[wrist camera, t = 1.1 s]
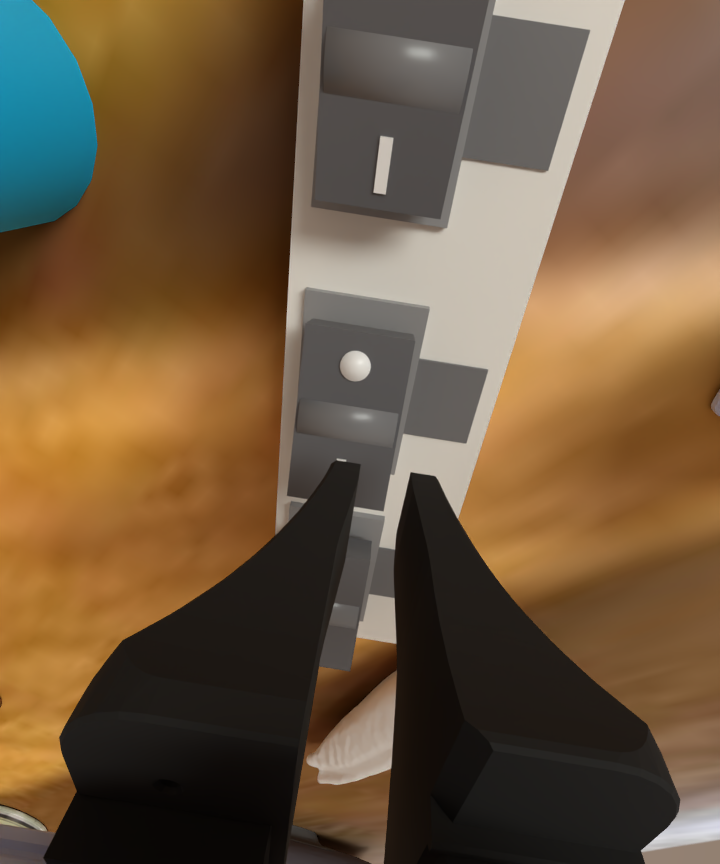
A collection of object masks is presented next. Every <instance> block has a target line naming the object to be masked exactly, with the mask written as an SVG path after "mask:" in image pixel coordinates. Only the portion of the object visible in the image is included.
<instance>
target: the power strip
mask: <svg viewBox="0 0 720 864" xmlns="http://www.w3.org/2000/svg"><path fill="white" fill-rule="evenodd" d="M624 1H625V0H489V3H488V7H487V12H486V16H485V21H484V25H483V30H482V34H481V39H480V43H479V48H478V52H477V57H476V61H475V66H474V70H473V75H472V79H471V84H470V88H469V93H468V97H467V102H466V106H465V111H464V115H463V120H462V124H461V129H460V133H459V138H458V142H457V147H456V151H455V156H454V160H453V165H452V169H451V174H450V178H449V183H448V187H447V192H446V196H445V201H444V205H443V210H442V214H441V219H434V218H427V217H421V216H415V215H408V214H402V213H396V212H389V211H383V210H377V209H370V208H364V207H358V206H351V205H345V204H339V203H332V202H326V201H320V200H315V183H316V160H317V136H318V113H319V90H320V67H321V44H322V21H323V0H304V2H303V21H302V39H301V58H300V77H299V96H298V115H297V133H296V152H295V171H294V190H293V208H292V227H291V246H290V265H289V284H288V302H287V321H286V340H285V359H284V378H283V396H282V415H281V434H280V453H279V472H278V490H277V509H276V528H275V535H276V534H277V533H278V532H279V531H280V530H281V529H282V528H283V527H284V526H285V525H286V524H287V523H288V522H289V521H290V519H291V518H292V517H293V516H294V515H295V514H296V513H297V512H298V511H299V509H300V508H301V507H302V506H303V505H304V503H305V502H306V501H307V500H308V499H303V498H296V497H290V496H287V489H288V480H289V471H290V462H291V452H292V443H293V434H294V425H295V416H296V406H297V397H298V388H299V379H300V369H301V360H302V351H303V342H304V332H305V323H307V322H308V321H310V320H311V319H312V318H315V319H321V320H327V321H333V322H340V323H346V324H352V325H359V326H365V327H371V328H377V329H384V330H390V331H396V332H403V333H409V334H413V335H414V338H415V346H414V352H413V357H412V362H411V368H410V373H409V378H408V384H407V389H406V394H405V400H404V405H403V410H402V416H401V421H400V426H399V432H398V437H397V442H396V448H395V453H394V458H393V464H392V469H391V474H390V480H389V485H388V490H387V496H386V501H385V506H384V512H383V511H377V510H371V509H365V508H358V507H354V510H353V516H352V522H351V528H350V534H349V537H351V538H357V539H363V540H369V541H372V544H371V560H370V566H369V571H368V577H367V582H366V588H365V593H364V598H363V604H362V609H361V615H360V620H359V626H358V631H357V637H358V638H364V639H370V640H376V641H382V642H388V643H394V644H396V622H395V598H394V556H395V543H396V532H397V528H398V524H399V520H400V515H401V511H402V507H403V503H404V498H405V494H406V490H407V486H408V481H409V477H410V473H411V472H413V473H419V474H426V475H432V476H436V478H437V479H438V481H439V483H440V485H441V487H442V489H443V491H444V493H445V495H446V497H447V499H448V501H449V503H450V505H451V507H452V509H453V511H454V513H455V515H456V517H457V518H459V514H460V511H461V508H462V505H463V502H464V499H465V496H466V493H467V490H468V486H469V483H470V480H471V477H472V474H473V471H474V468H475V465H476V462H477V458H478V455H479V452H480V449H481V446H482V443H483V440H484V437H485V434H486V430H487V427H488V424H489V421H490V418H491V415H492V412H493V409H494V406H495V402H496V399H497V396H498V393H499V390H500V387H501V384H502V381H503V378H504V374H505V371H506V368H507V365H508V362H509V359H510V356H511V353H512V350H513V346H514V343H515V340H516V337H517V334H518V331H519V328H520V325H521V322H522V318H523V315H524V312H525V309H526V306H527V303H528V300H529V297H530V293H531V290H532V287H533V284H534V281H535V278H536V275H537V272H538V269H539V265H540V262H541V259H542V256H543V253H544V250H545V247H546V244H547V241H548V237H549V234H550V231H551V228H552V225H553V222H554V219H555V216H556V213H557V209H558V206H559V203H560V200H561V197H562V194H563V191H564V188H565V185H566V181H567V178H568V175H569V172H570V169H571V166H572V163H573V160H574V157H575V153H576V150H577V147H578V144H579V141H580V138H581V135H582V132H583V129H584V125H585V122H586V119H587V116H588V113H589V110H590V107H591V104H592V101H593V97H594V94H595V91H596V88H597V85H598V82H599V79H600V76H601V72H602V69H603V66H604V63H605V60H606V57H607V54H608V51H609V48H610V44H611V41H612V38H613V35H614V32H615V29H616V26H617V23H618V20H619V16H620V13H621V10H622V7H623V4H624Z"/></svg>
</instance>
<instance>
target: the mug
mask: <svg viewBox="0 0 720 864" xmlns="http://www.w3.org/2000/svg"><path fill="white" fill-rule="evenodd" d="M96 151H97V137H96V129H95V120H94V112H93V104H92V101H91V98H90V96H89V93H88V90H87V88H86V85H85V82H84V79H83V77H82V74H81V71H80V69H79V66H78V63H77V60H76V59H75V57H74V56H73V54H72V52H71V51H70V49H69V48H68V46H67V44H66V43H65V41H64V40H63V38H62V37H61V35H60V33H59V32H58V30H57V29H56V27H55V26H54V24H53V22H52V21H51V19H50V18H49V17H48V16H47V15H46V14H45V13H44V12H43V11H42V10H41V9H40V8H39V7H38V6H37V5H36V4H35V3H34V2H33V1H32V0H0V232H5V231H10V230H15V229H19V228H24V227H29V226H33V225H38V224H43V223H47V222H52V221H55V220H57V219H58V218H59V217H61V216H62V215H64V214H65V213H67V212H68V211H69V210H71V209H72V208H74V207H75V206H77V204H78V202H79V201H80V199H81V197H82V195H83V194H84V192H85V190H86V189H87V187H88V185H89V183H90V182H91V180H92V175H93V169H94V163H95V157H96Z"/></svg>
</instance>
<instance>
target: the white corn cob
mask: <svg viewBox="0 0 720 864" xmlns="http://www.w3.org/2000/svg"><path fill="white" fill-rule="evenodd" d="M396 679H397V670H396V671H395V672H393V673H392V674H390V675H389V676H388V677H387V678H386V679H384V680H383V681H382V682H381V683H380V684H379V685H378V686H377V687H375V688H374V689H373V690H372V691H371V692H370V693H369V695H367V696H366V697H365V698H364V699H363V700H362V701H361V702H360V703H359V704H358V706H356V707H354V708H353V710H352V711H350V712H349V713H348V714H347V715H346V716H345V717H344V718H343V719H342V720H341V721H340V722H339V723H338V724H337V725H336V726H335V728H334V729H333V730H332V731H331V732H330V733H329V734H328V736H327V737H326V738H325V739H324V741H323V742H322V744H321V745H320V746H319V748H318V749H317V750H316V752H315V753H311V754H309V755H308V756H307V763H308V764H309V765H310V766H313V767H317V768H318V769H319V774H318V782H319V783H321V784H322V783H328V784H334V785H339V784H345V783H349V782H353V781H358V780H361V779H363V778H366V777H368V776H371V775H375V774H378V773H380V772H383V771H387V770H389V769H391V764H392V748H393V732H394V716H395V698H396Z"/></svg>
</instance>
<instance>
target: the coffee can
mask: <svg viewBox="0 0 720 864" xmlns="http://www.w3.org/2000/svg"><path fill="white" fill-rule="evenodd" d="M0 824H5V825H11V826H17V827H23V828H29V829H35V830H41V831H47V829H46V827H45V826H44V825H43V824H42V823H41V822H39V821H38V820H37V819H35V818H33V817H31V816H29V815H27V814H25V813H23V812H20V811H18V810H15V809H12V808H9V807H5V806H2V805H0Z"/></svg>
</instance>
